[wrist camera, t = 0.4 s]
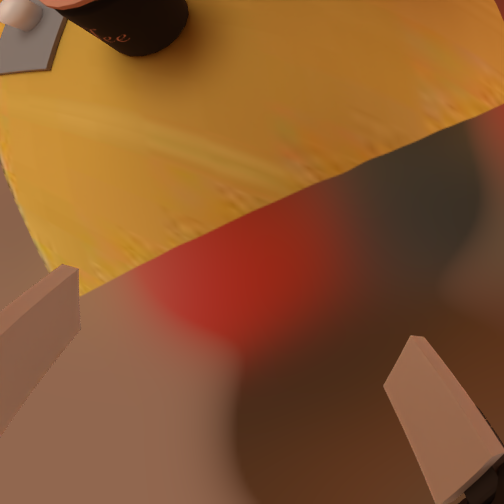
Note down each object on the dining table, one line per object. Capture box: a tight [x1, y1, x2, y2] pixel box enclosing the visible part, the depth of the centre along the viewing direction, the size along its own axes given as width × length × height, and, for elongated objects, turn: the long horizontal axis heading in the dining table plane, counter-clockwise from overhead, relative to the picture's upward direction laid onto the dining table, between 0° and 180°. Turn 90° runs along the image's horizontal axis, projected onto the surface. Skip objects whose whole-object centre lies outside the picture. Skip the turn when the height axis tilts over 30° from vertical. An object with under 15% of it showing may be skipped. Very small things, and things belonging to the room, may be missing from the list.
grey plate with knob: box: [0, 0, 67, 75], centre depth 23 cm, size 18×14×8 cm
